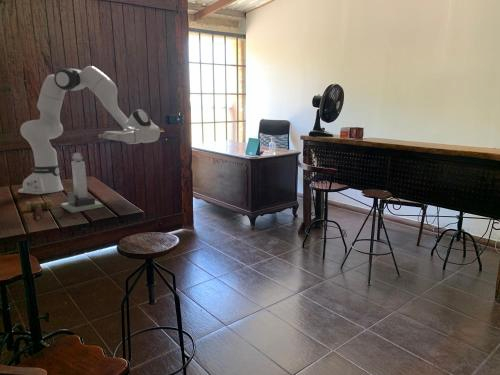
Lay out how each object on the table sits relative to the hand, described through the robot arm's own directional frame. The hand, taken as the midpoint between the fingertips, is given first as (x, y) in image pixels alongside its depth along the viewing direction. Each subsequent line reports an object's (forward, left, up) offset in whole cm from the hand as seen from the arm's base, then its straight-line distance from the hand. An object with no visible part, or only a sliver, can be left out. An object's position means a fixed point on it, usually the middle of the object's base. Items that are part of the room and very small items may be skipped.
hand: (103, 136), depth 184 cm
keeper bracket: (-7, -11, -32) cm, 35 cm away
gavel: (-20, -25, -33) cm, 46 cm away
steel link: (-7, -11, -30) cm, 33 cm away
